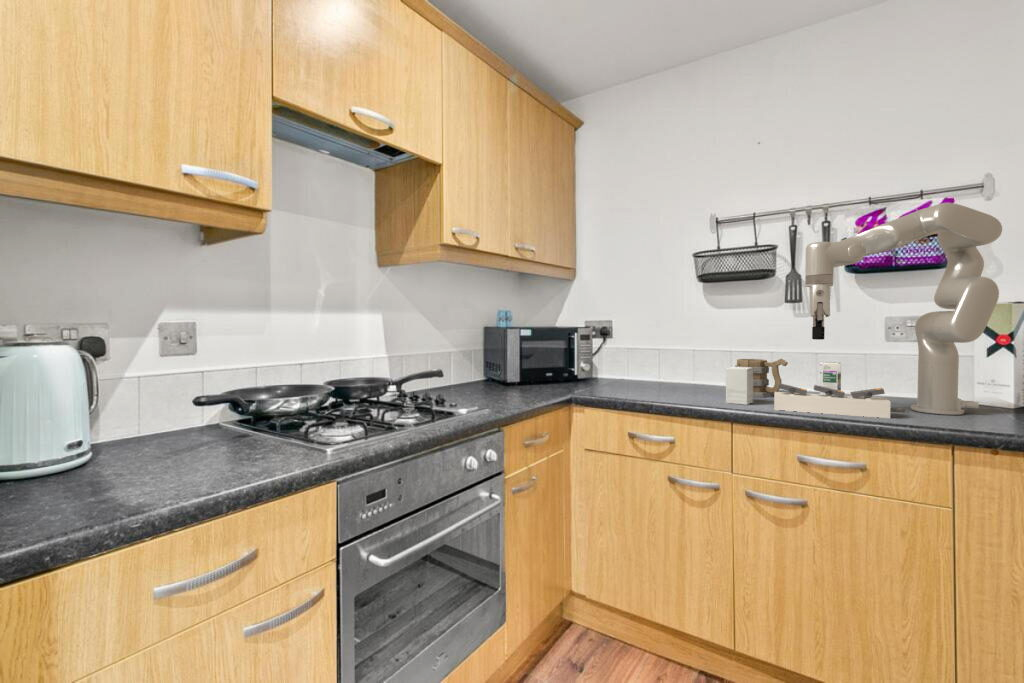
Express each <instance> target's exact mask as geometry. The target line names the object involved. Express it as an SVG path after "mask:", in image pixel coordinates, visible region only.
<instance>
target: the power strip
mask: <svg viewBox="0 0 1024 683" xmlns="http://www.w3.org/2000/svg"><path fill="white" fill-rule="evenodd" d="M773 394H774V399H773V400H774V402H773V405H774V408H773V410H774V411H779V410H785V411H784V412H793V411H797V412H796V413H807V412H810V413H811V414H821V413H823V414H822V415H835V414H836V416H840V415H841V416H849V417H850V416H853V417H863V416H864V417H863V418H877V417H879V419H891V413H906V409H905V408H900V407H899V408H898V407H891V401H890V400H889V399H887V398H886V397H874V396H872V397H871V398H866V397H865V396H864V397H857V398H853V397H852V396H851V395H844V397H840V396H836V395H831V396H827V395H824V394H820V393H806V395H803V394H799V393H794V394H791V393H789V392H788V391H787V392H786V391H785V392H784V391H783V392H780V391H778V392H774V393H773Z"/></svg>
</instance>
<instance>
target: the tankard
mask: <svg viewBox="0 0 1024 683" xmlns="http://www.w3.org/2000/svg"><path fill="white" fill-rule="evenodd" d="M780 365H782V366H783V367H786V366H788V361H786V360H785V359H783V358H780V359H777V360H775V361H771V362H770V361H769V362H768V360H766V359H762V358H761V359H760V358H738V359H736V364H735V366H734V367H749V368H753V398H768V397H771V396H772V393H775V392H780V389H779V388H778V386H779V383H781V384H782V382H783V381H782V378H781V375H780V370H779V366H780ZM770 367H771V373H772V377H773V379H774V385H773V387H771V386H769V385H770V380H769V378H768V374H769V373H770Z"/></svg>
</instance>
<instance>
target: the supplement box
mask: <svg viewBox="0 0 1024 683" xmlns="http://www.w3.org/2000/svg"><path fill="white" fill-rule="evenodd" d="M725 403H726V404H734V405H735V404H736V405H745V406H747V405H750V403H751V404H753V403H754V397H753V368H749V367H735V366H730V367H726V368H725Z"/></svg>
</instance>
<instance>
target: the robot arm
mask: <svg viewBox="0 0 1024 683" xmlns="http://www.w3.org/2000/svg"><path fill="white" fill-rule="evenodd" d="M1002 233H1003V225H1002V223H1001V221H1000V220H998V218H996V217H995V216H993V215H991V214H988V213H984V212H983V211H980V210H976V209H974V208H971V207H968V206H966V205H963V204H958V203H953V202H942V203H938V204H935V205H932V206H929V207H925V208H922V209H918V210H916V211H913V212H911V213H909V214H906V215H903V216H900V217H898V218H896V219H892V220H890V221H888V222H887V221H886V222H884V223H882V224H879V225H876V226H874V227H872V228H870V229H868V230H865V231H863V232H860V233H858V234H856V235H855V234H854V235H853V236H850V237H848V238H844V239H842V240H839V241H832V242H831V241H816V242H812V243H811V242H810V243H809V244H807V245H806V247H805V270H804V271H805V276H804V278H805V279H804V280H805V281H804V282H805V283H804V285H805V286H804V287H806V288H809V293H808V294H809V314H810V317H811V318H812V327H811V332H812V334H811V339H812V340H825V331H826V330H825V328H826V326H825V318H829V317H830V316H831V290H830V289H831V288H830V287H833V286H834V268H840V267H843V266H849V265H853V264H857V263H859V262H860V261H861V260H863V258H864V257H867V256H870V255H875V254H880V253H884V252H887V251H892V250H894V249H897V248H900V247H902V246H904V245H908V244H910V243H912V242H915V241H918V240H920V239H924V238H926V237H928V236H932V235H934V234H937V237H936V238H937V242H938V245H939V246H940V248H941V249H942V251H943V252H944V254H945V256H946V259H947V264H946V268H945V270H944V273H943V275H942V277H941V279H940V281H939V284H938V286H937V288H936V290H935V293H934V298H933V300H934V303H935V305H937V306H938V308H941V309H945V311H944V310H943V311H942V310H940V311H931V312H928V313H924V314H922V315H921V316H919V318H918V319H917V321H916V322H915V328H914V330H915V336H916V341H917V348H918V349H917V350H918V357H917V358H918V361H917V402H916V404H912V405H911V406H910V410H913V411H915V412H918V413H919V412H921V413H926V414H934V415H935V414H938V415H949V416H951V415H953V416H956V415H957V416H960V415H964V414H965V408H968V409H969V408H970V409H980V408H979V407H980V404H979V402H977V401H965V400H963V399H961V398H959V394H958V393H959V362H960V356H959V351H958V348H957V346H956V343H961V344H962V343H970V342H974V341H975V340H977V339H979V338H980V337H981V335H983V333H984V331H986V327H987V325H988V323H989V321H990V319H991V317H992V314H993V313H994V311H995V308H996V306H997V304H998V300H999V298H1000V297H999V296H1000V289H999V286H998V284H997V283H996V282H995V281H994V280H993V279H991V278H989V277H986V276H982V273H983V271H984V268H985V261H984V260H985V259H984V258H983V257H984V256H982V254H981V252H980V250H979V249H978V248H977V247H980V246H986V245H990V244H991V243H993V242H995V241H997V240H998V239H999V238H1000V237H1001V235H1002Z"/></svg>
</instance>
